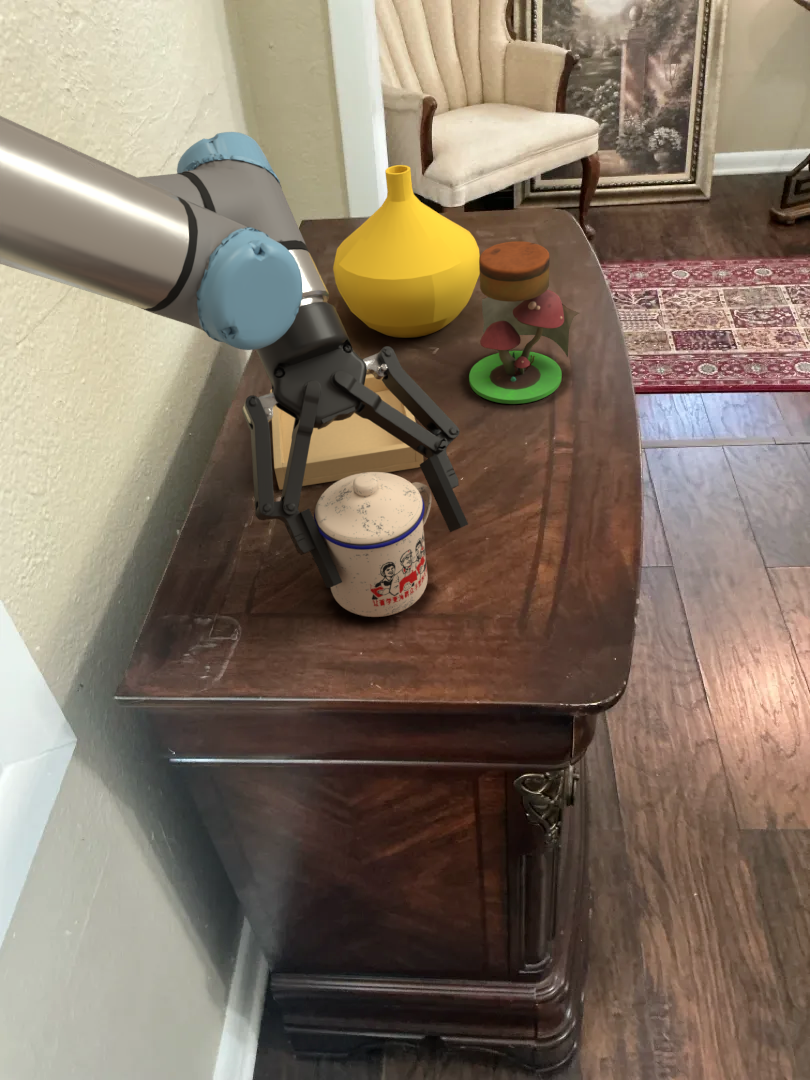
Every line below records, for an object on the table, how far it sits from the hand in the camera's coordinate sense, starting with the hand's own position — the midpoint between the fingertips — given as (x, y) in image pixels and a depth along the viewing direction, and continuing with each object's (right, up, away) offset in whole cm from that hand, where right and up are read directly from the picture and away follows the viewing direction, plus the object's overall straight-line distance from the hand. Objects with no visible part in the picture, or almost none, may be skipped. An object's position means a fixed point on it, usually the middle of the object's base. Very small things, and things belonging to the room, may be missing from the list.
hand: (398, 556), depth 72 cm
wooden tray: (-6, +13, +22) cm, 26 cm away
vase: (+1, +30, +41) cm, 51 cm away
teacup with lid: (-1, -2, +5) cm, 5 cm away
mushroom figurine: (+14, +20, +28) cm, 37 cm away
